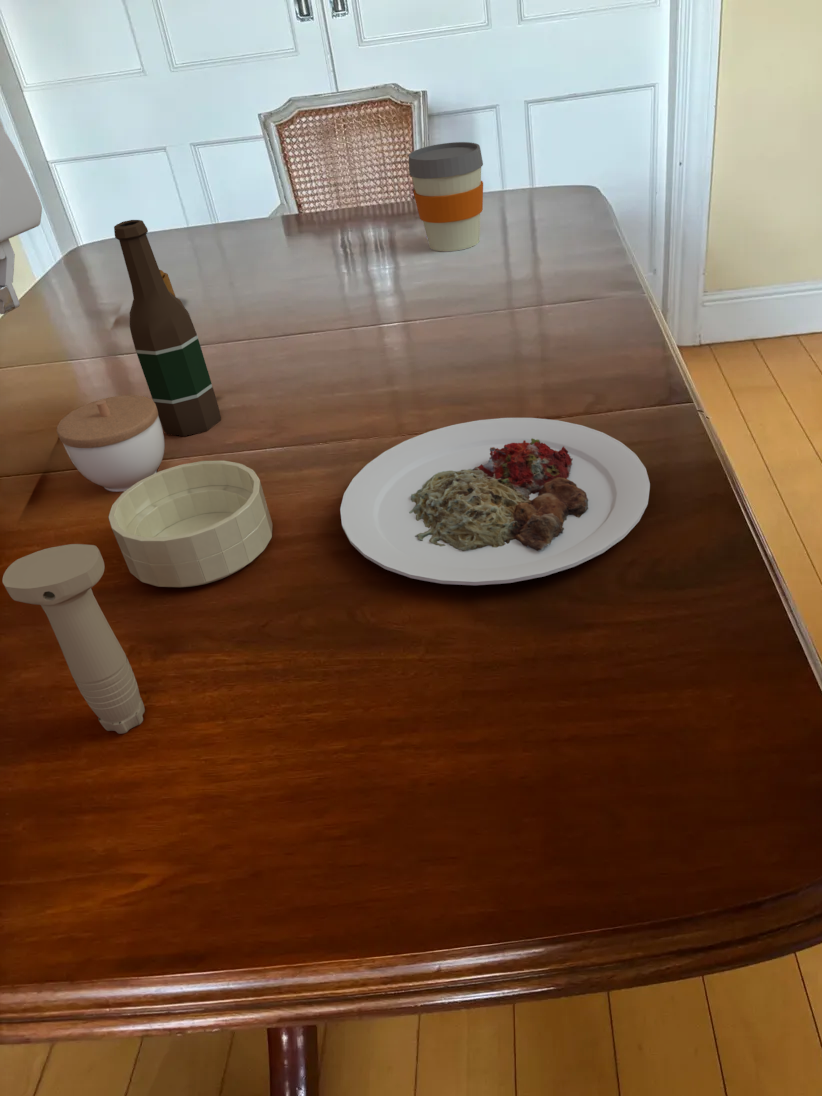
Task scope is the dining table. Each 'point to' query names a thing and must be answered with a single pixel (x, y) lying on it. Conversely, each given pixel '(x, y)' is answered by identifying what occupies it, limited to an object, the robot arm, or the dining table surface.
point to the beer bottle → (166, 341)
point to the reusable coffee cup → (448, 193)
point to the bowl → (192, 523)
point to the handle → (80, 628)
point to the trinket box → (114, 440)
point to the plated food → (495, 501)
